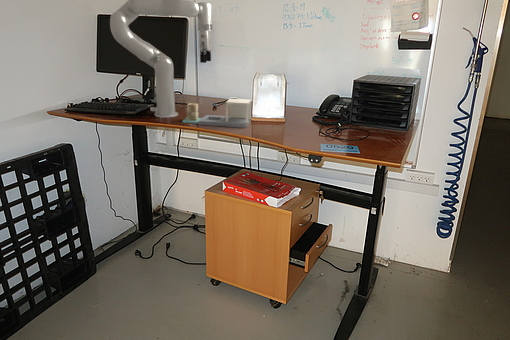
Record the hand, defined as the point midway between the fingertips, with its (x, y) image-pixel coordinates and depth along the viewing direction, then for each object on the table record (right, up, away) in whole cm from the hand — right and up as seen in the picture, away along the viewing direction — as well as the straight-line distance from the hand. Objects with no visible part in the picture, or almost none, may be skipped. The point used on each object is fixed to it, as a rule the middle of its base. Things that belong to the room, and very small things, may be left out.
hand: (205, 61), depth 206 cm
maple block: (-6, -32, -8) cm, 34 cm away
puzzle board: (+11, -34, -10) cm, 37 cm away
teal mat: (-6, -33, -8) cm, 34 cm away
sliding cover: (+18, -33, -11) cm, 39 cm away
